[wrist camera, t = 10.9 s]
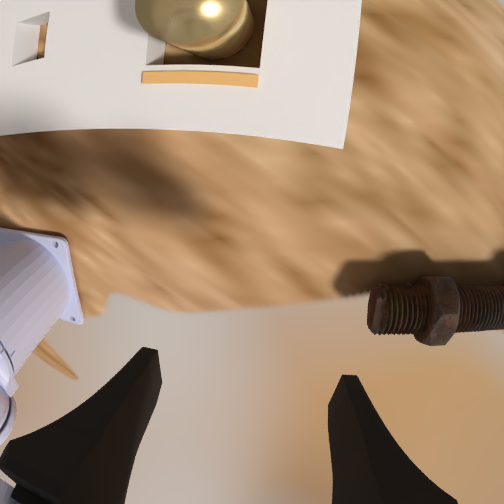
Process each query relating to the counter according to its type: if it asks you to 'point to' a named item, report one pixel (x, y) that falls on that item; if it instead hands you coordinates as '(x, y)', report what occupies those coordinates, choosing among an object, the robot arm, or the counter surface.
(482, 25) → the counter surface
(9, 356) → the robot arm
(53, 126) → the fitting plate
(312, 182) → the counter surface
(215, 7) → the brass cylinder
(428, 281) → the bolt
